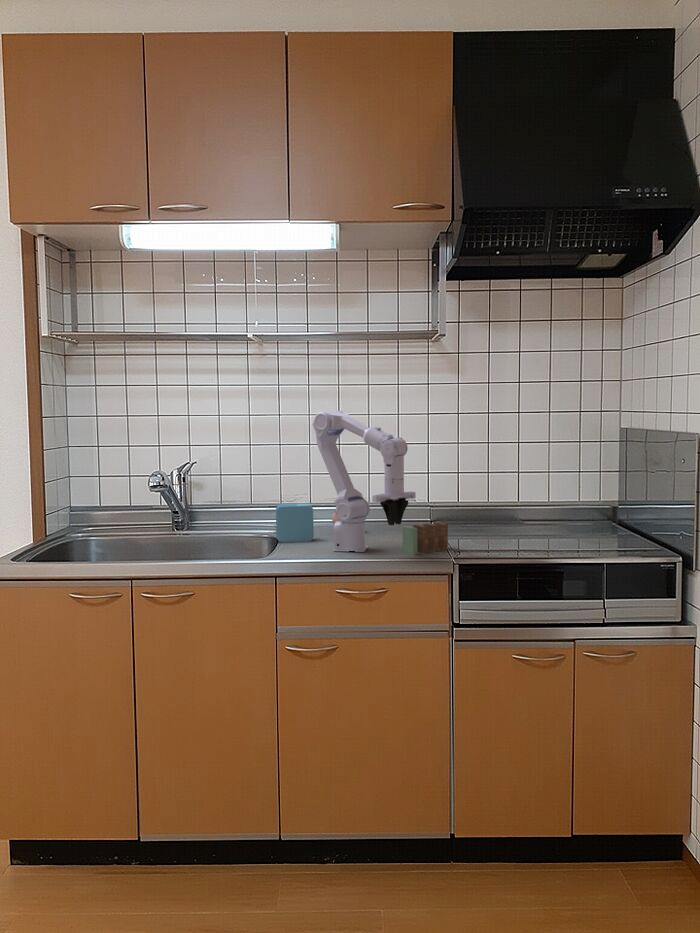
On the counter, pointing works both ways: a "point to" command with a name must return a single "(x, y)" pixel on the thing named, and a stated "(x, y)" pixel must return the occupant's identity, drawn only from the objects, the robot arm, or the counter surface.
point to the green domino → (410, 540)
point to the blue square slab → (294, 522)
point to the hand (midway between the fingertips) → (394, 524)
